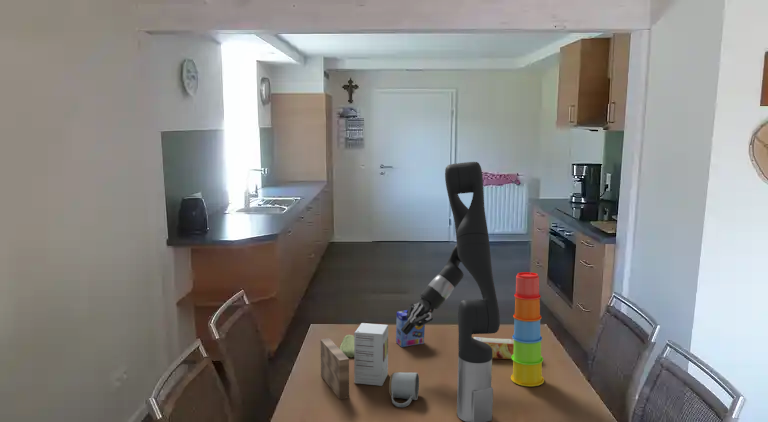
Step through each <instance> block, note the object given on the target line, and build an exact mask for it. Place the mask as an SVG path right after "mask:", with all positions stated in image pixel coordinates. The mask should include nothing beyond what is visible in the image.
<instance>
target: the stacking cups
mask: <svg viewBox="0 0 768 422" xmlns="http://www.w3.org/2000/svg"><path fill="white" fill-rule="evenodd" d="M513 297H514V301H515V303H514V314H513V315H512V316H513V319H514V323H513V324H514V325H513V326H514V327H513V331H514V332H513V335H512V337H511V338H512V339H514V354H513V355H512V357H511V358H512V359H511V360H512V364H513V365H512V366H513V367H512V374H511V376H510V380H511V381H512V382H513V383H514V384H515V385H518V386H522V387H539V386H540V385H543V384H544V383H545V378H544V377H543V366H542V365H543V361H544V357H543V356H542V340H543V336H541V319H543V318H542V315H541V300H540V299H541V297H542V295H540V276H539V274H538V273H535V272H530V271H528V272H527V271H522V272H518V273H517V274H516V276H515V293H514V296H513Z"/></svg>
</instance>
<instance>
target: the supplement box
mask: <svg viewBox="0 0 768 422" xmlns="http://www.w3.org/2000/svg"><path fill="white" fill-rule="evenodd" d="M353 336H354V357H353V358H354V361H353V362H354V364H353V365H354V366H353V370H354V371H353V372H354V373H353V374H354V377H353V381H354V384H358V385H359V384H360V385H370V386H379V387H383V385H384V382H385V381H386V379H387V377H388V375H389V373H388V372H389V324H380V323H366V322H361V323H360V324H359V326H358V327H357V329H356V330H355V331H354V335H353Z"/></svg>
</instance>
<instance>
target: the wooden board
mask: <svg viewBox="0 0 768 422" xmlns="http://www.w3.org/2000/svg"><path fill="white" fill-rule="evenodd" d="M319 341H320V376H321V377H322V378H323V380H324V381H325V383H326V384H327V385H328V386H329V388H330V389H331V390H332V391H333V392H334V395H336V397H337V398H338V399H339V400H342V399H347V398H350V357H347V356H346V355H345V354H344V353H343V352H342V351H341V350H340V349H339V346H337V344H335V343H334V341H333V340H332V339H331V338H322V339H320V340H319Z"/></svg>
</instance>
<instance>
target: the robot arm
mask: <svg viewBox="0 0 768 422" xmlns="http://www.w3.org/2000/svg"><path fill="white" fill-rule="evenodd" d="M444 170H445V171H444V178H445V181H444V182H445V187H446V192H447V195H448V200H449V206H450V209H451V212H452V215H453V216H452V217H453V220H454V229H455V238H456V239H455V240H456V244H455V246H454V247H453V249H452V251H451V252H450V256H449V258H448V259H447V261H446V264H445V265H444V267H443V268H442V269H441V271H440V272H439V273H438V274H436V276H435V277H434V278H433V279H432V280H431V281H430V282H429V283H428V285H427V286H426V287H425V288H424V289H423V290H422V292H421V293H420V295H419V296H420V299H419V300H418V301H416V303H410V304H409V306H408V308H409V309H408V308H407V310H408V313H407V316H406V317H407V318H408V321H407V323H406V324H405V325H404V326H403V327H402V329H401V331H402V332H403V333H405V334H406V335H407V334H408V333H409V332H410V331H411V330H412V329H413V327H414V326H415V327H416V326H418V327H420V326H422V325H424V324H425V325H426V324H427V323H430V322H432V321H433V320H434V318H433V317H432V314H433V313H434V310H437V311H438V310H439V309H440V308H441V307H442V305H443V304H444V303H445V301H446V300H448V298H449V297H450V295H451V294H452V293H453V291H454V289H455V288H456V287H457V286H458V284H459V283H460V282H461V281H462V280H463V279H464V272H463V271H462V269H461V268H460V266H459V265H460V263H461V264H462V265H463V266H464V267H465V269H466V270H467V271H468V272H469V273H470V275H471V276H472V278H473V279H474V280H475V283H476V284H477V286H478V288H479V291H480V294H481V296H482V299H479V298H478V299H463V300H460V302H459V305H458V308H457V323H458V324H457V326H458V328H457V329H458V331H457V332H458V344H457V345H458V357H457V388H456V389H457V391H456V392H457V394H456V396H457V397H456V398H457V400H456V416H457V417H458V418H459V419H460V420H461V421H463V422H492V421H493V403H494V402H493V399H494V388H493V386H492V381H493V380H492V378H493V377H492V374H493V373H492V371H493V358H492V348H491V347H490V346H489V345H488V344H486V343H484V342H481V341H478V340H476V339H474V338H473V337H472V335H490V334H495V333H498V331H499V329H500V323H501V318H500V317H501V315H500V308H499V302H498V298H497V291H496V287H495V282H494V275H493V267H492V258H491V244H490V237H489V236H490V235H489V230H488V225H487V217H486V210H485V209H486V208H485V195H484V194H485V193H484V177H483V171H482V170H483V169H482V167H481V165H480V163H479V162H478V161H466V162H458V163H452V164H451V163H450V164H447V166H446V167H445V169H444ZM471 193H472V199H471V201H470V205H469V207H467V206H466V204H464V202H463V201H462V200H461V198H460V196H459V194H471ZM410 314H411V315H410Z"/></svg>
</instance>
